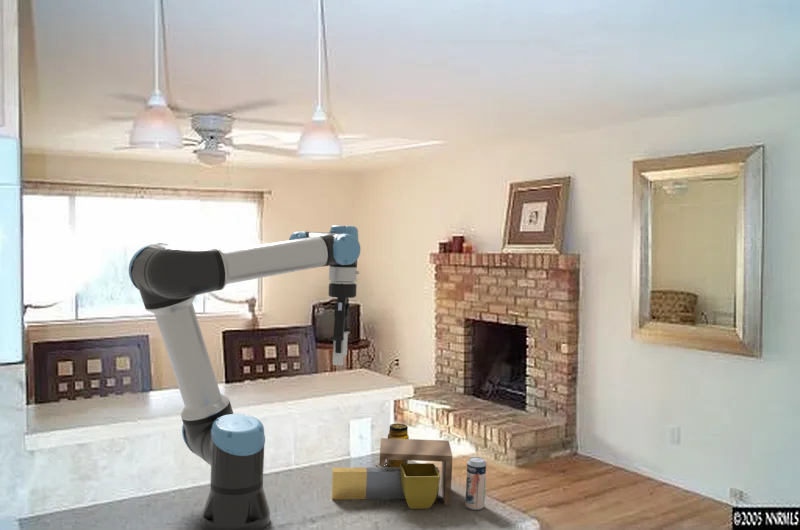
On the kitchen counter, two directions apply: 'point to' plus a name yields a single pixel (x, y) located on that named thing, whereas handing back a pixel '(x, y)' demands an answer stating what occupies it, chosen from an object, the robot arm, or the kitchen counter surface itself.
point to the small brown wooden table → (421, 456)
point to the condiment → (396, 433)
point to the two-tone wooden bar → (368, 483)
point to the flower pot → (419, 484)
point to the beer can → (475, 483)
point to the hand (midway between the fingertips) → (340, 359)
